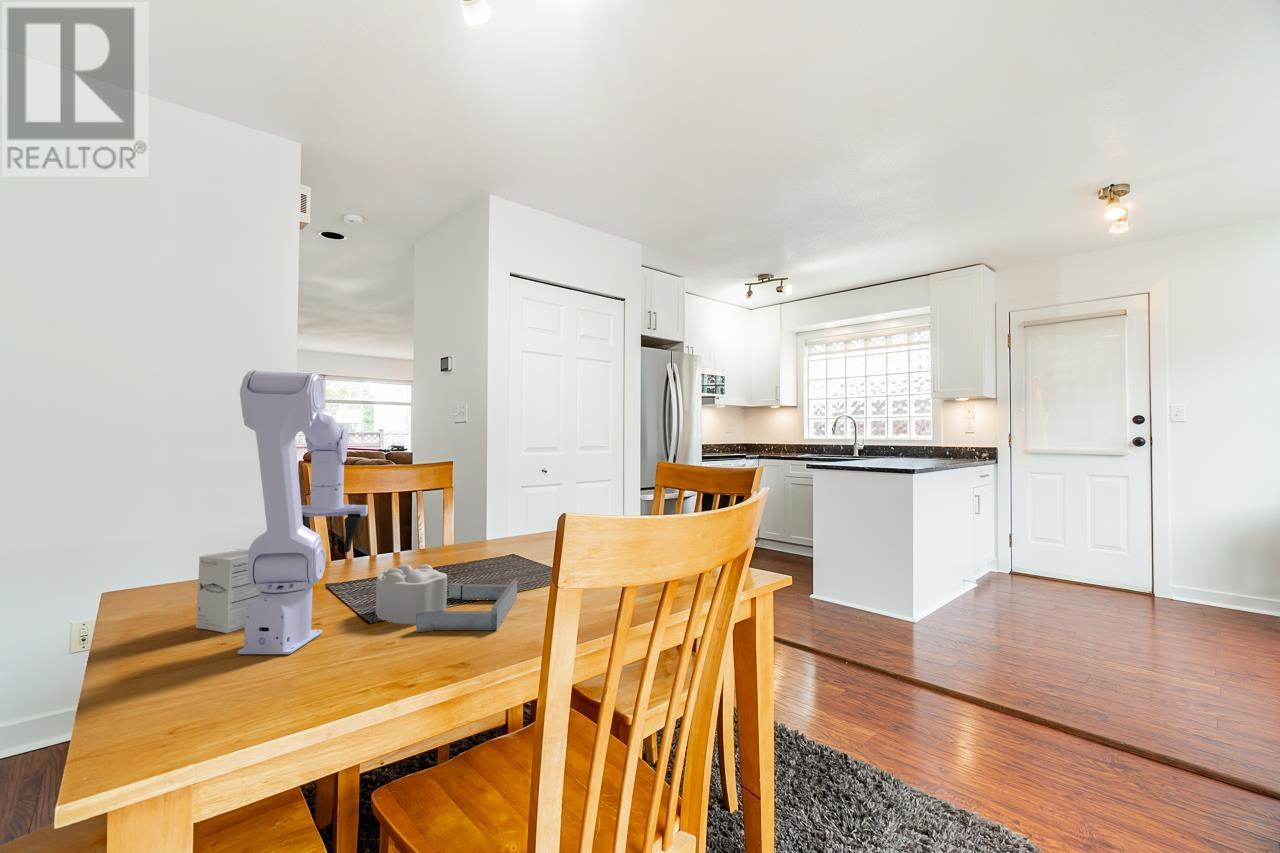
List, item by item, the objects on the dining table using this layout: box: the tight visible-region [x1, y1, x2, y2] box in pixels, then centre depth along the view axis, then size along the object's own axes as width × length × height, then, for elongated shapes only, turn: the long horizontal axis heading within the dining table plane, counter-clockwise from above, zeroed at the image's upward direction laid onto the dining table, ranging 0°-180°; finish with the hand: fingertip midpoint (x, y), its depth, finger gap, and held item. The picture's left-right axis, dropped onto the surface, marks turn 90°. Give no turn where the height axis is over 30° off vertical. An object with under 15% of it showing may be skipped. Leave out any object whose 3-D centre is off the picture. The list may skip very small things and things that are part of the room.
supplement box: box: [195, 548, 260, 634], centre depth 95 cm, size 7×7×13 cm
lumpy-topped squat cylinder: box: [375, 563, 448, 625], centre depth 103 cm, size 10×13×9 cm
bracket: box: [415, 579, 518, 634], centre depth 104 cm, size 21×14×4 cm, turn 2°
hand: (326, 552), depth 108 cm, fingers open, 7 cm apart
